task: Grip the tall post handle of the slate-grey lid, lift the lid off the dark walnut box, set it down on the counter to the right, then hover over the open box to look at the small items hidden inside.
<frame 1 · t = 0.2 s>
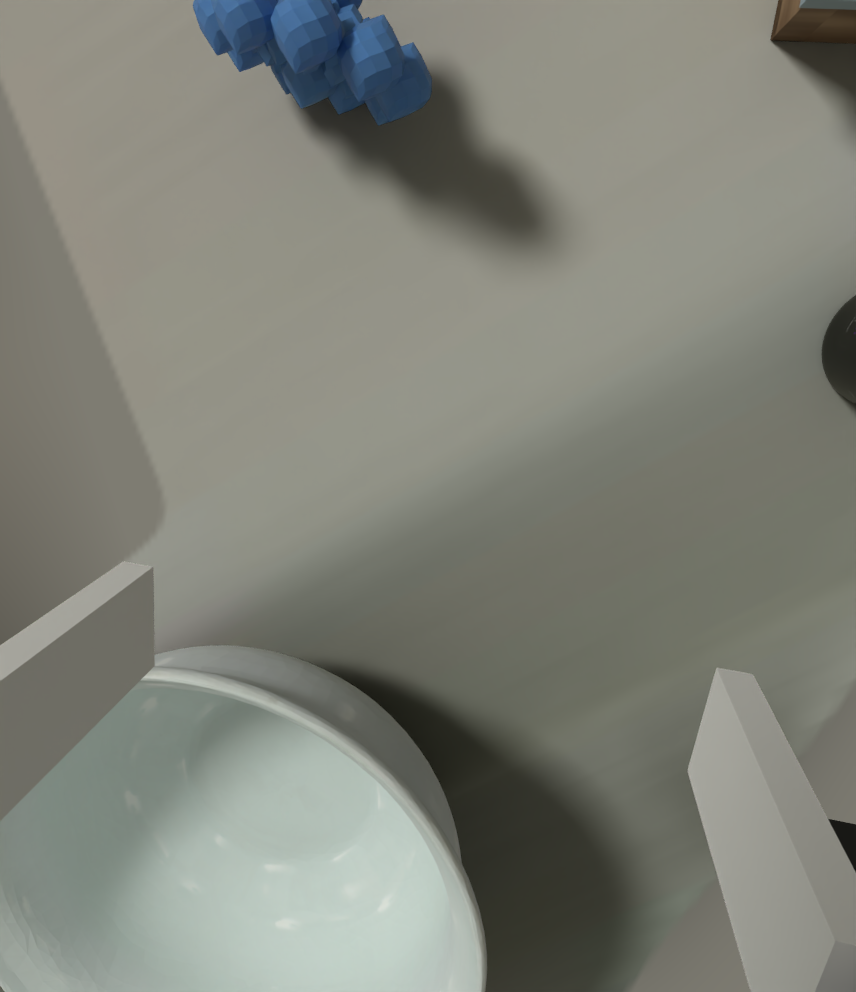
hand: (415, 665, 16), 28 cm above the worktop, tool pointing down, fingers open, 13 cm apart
bowl: (289, 760, 53), on the worktop
grapes: (356, 68, 38), on the worktop
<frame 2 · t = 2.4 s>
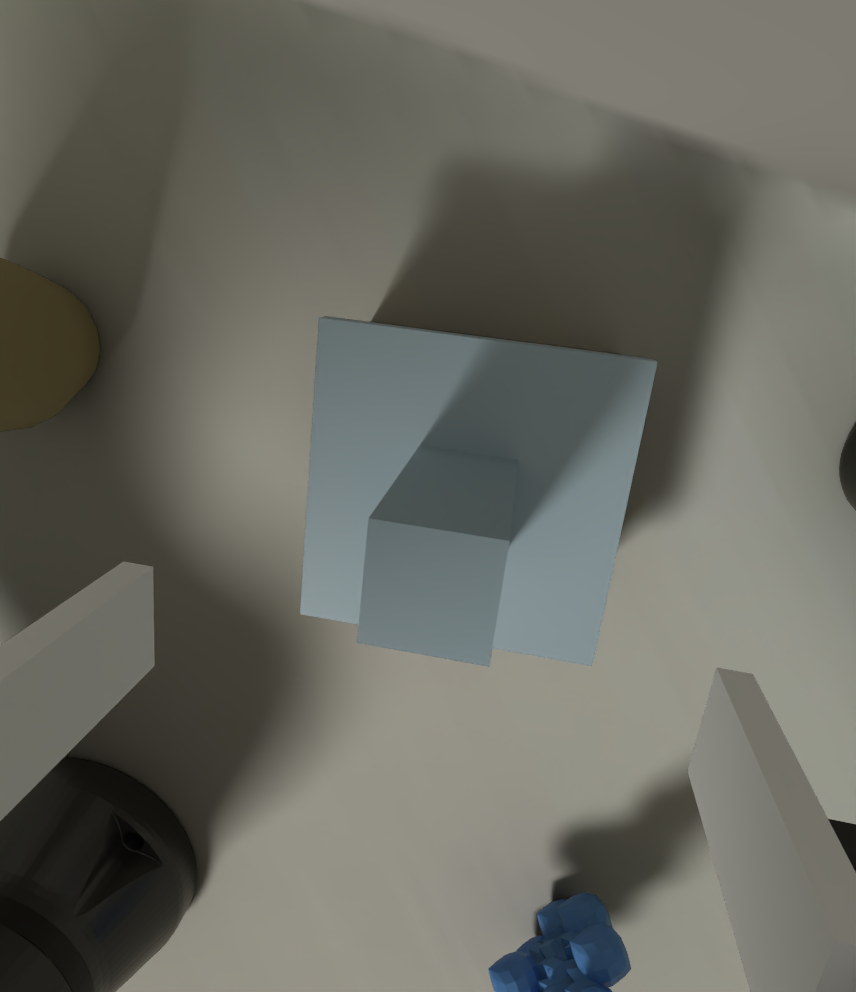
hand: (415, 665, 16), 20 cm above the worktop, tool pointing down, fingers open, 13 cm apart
squeeze bottle: (53, 338, 37), on the worktop
lid: (464, 492, 30), point 6 cm above the worktop, touching box
grapes: (545, 897, 43), on the worktop
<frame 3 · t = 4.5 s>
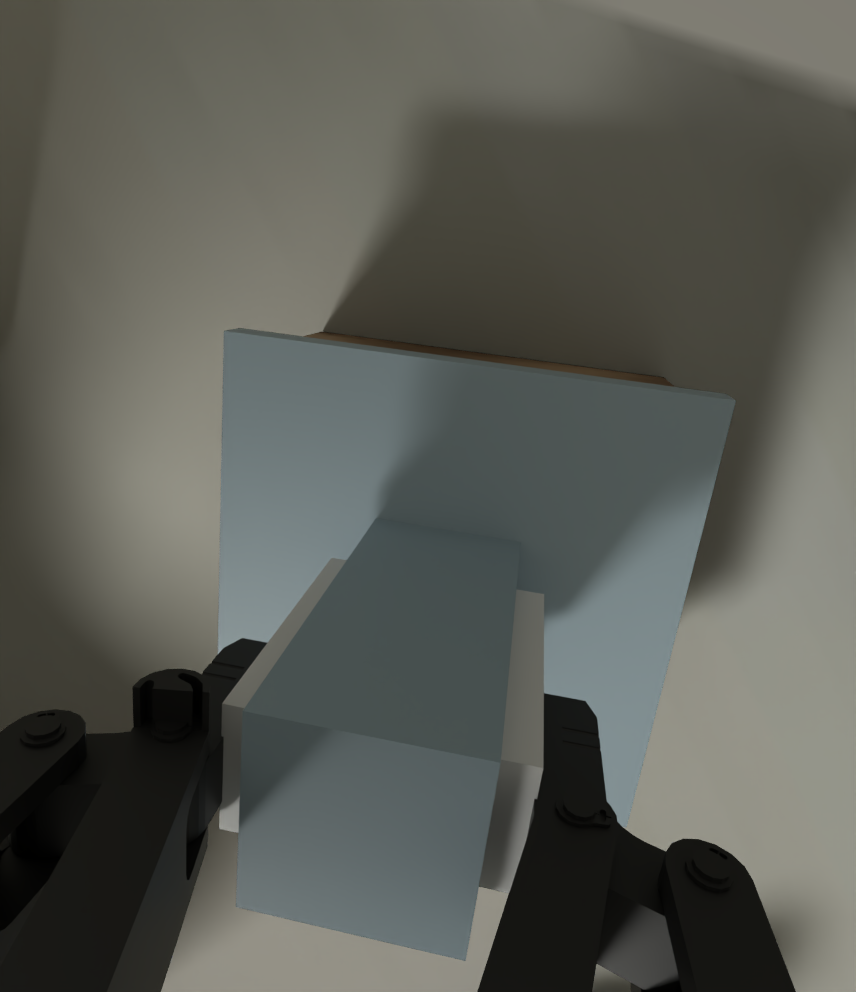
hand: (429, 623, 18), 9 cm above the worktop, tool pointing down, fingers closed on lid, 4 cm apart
lid: (443, 581, 21), point 6 cm above the worktop, touching box, gripper
box: (465, 514, 26), on the worktop
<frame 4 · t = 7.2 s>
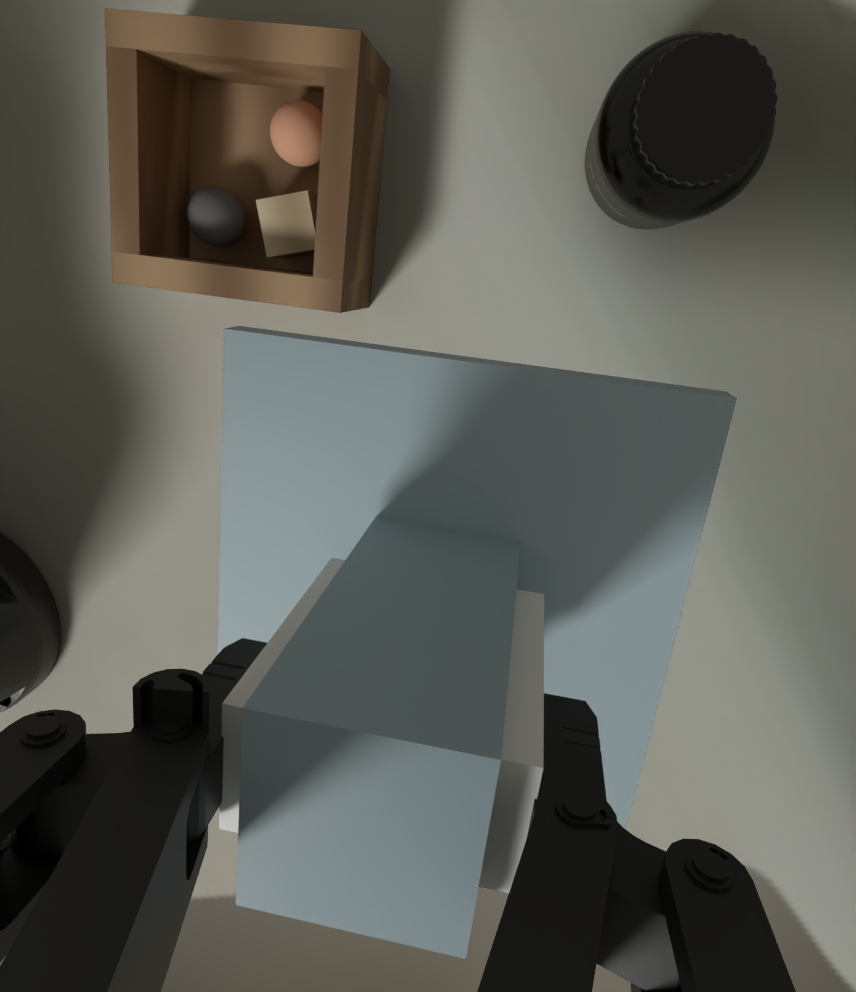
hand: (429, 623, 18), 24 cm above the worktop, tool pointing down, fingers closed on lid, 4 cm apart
ball a: (309, 139, 37), point 1 cm above the worktop, touching box
maple cube: (304, 227, 38), point 1 cm above the worktop, touching box
ball b: (228, 218, 39), point 1 cm above the worktop, touching box
lid: (443, 579, 21), point 22 cm above the worktop, touching gripper
box: (273, 181, 39), on the worktop
supplement bottle: (652, 160, 36), on the worktop
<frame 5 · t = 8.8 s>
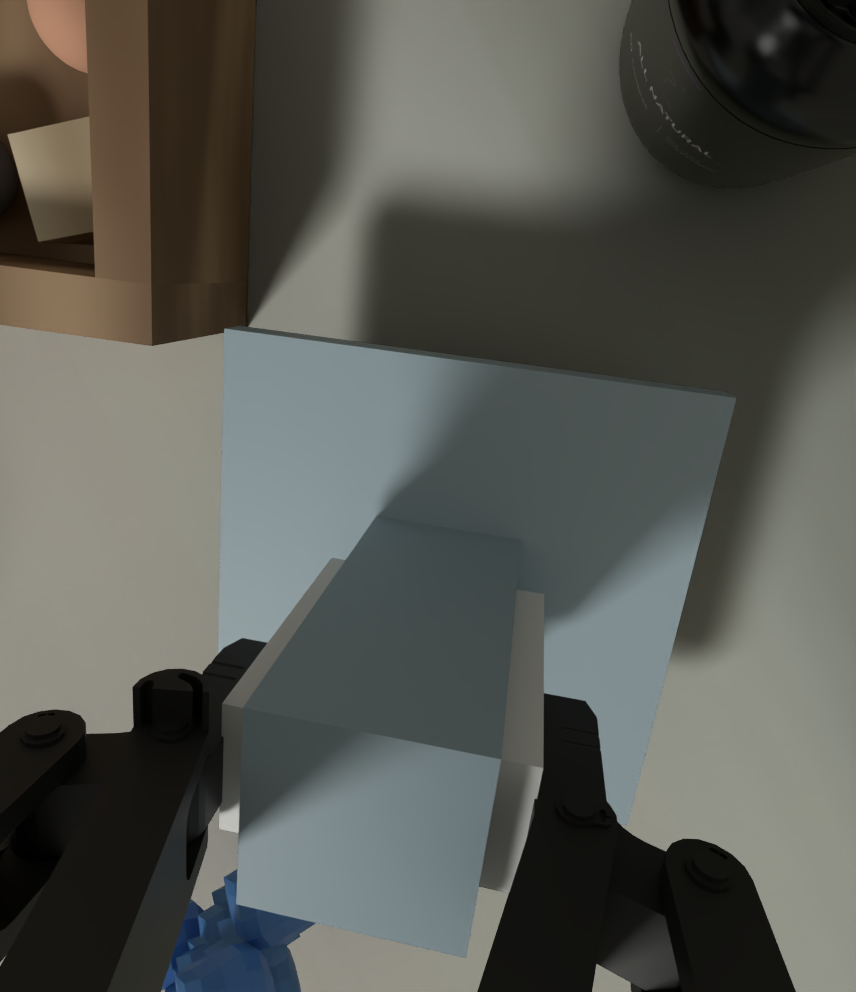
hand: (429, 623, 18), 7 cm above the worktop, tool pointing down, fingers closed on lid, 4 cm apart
ball a: (120, 29, 21), point 1 cm above the worktop, touching box
maple cube: (124, 191, 22), point 1 cm above the worktop, touching box
lid: (443, 579, 21), point 4 cm above the worktop, touching gripper
box: (72, 112, 22), on the worktop
supplement bottle: (743, 60, 19), on the worktop
grapes: (278, 829, 30), on the worktop
when the fingers open (4 cm above the worktop, at t = 10.1 s): lid drops 1 cm, on the worktop.
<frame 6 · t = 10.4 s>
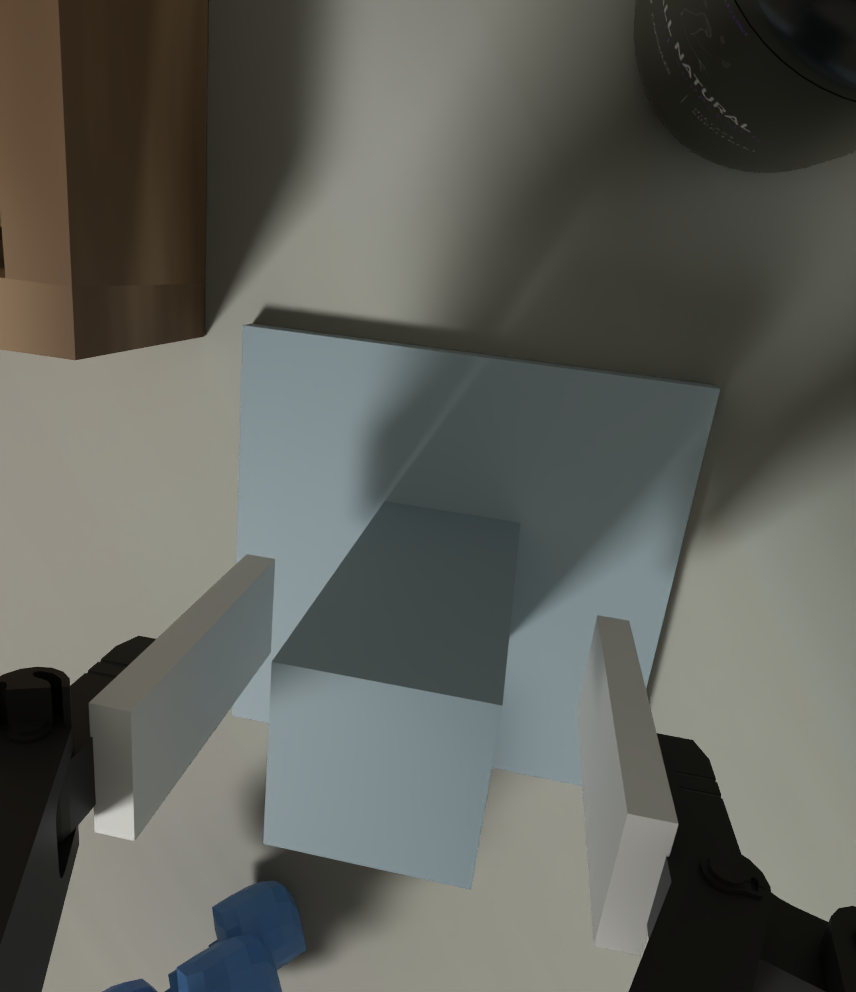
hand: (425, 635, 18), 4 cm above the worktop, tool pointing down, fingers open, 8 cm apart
lid: (447, 561, 22), on the worktop
box: (1, 87, 19), on the worktop
supplement bottle: (781, 21, 16), on the worktop
grapes: (249, 889, 27), on the worktop
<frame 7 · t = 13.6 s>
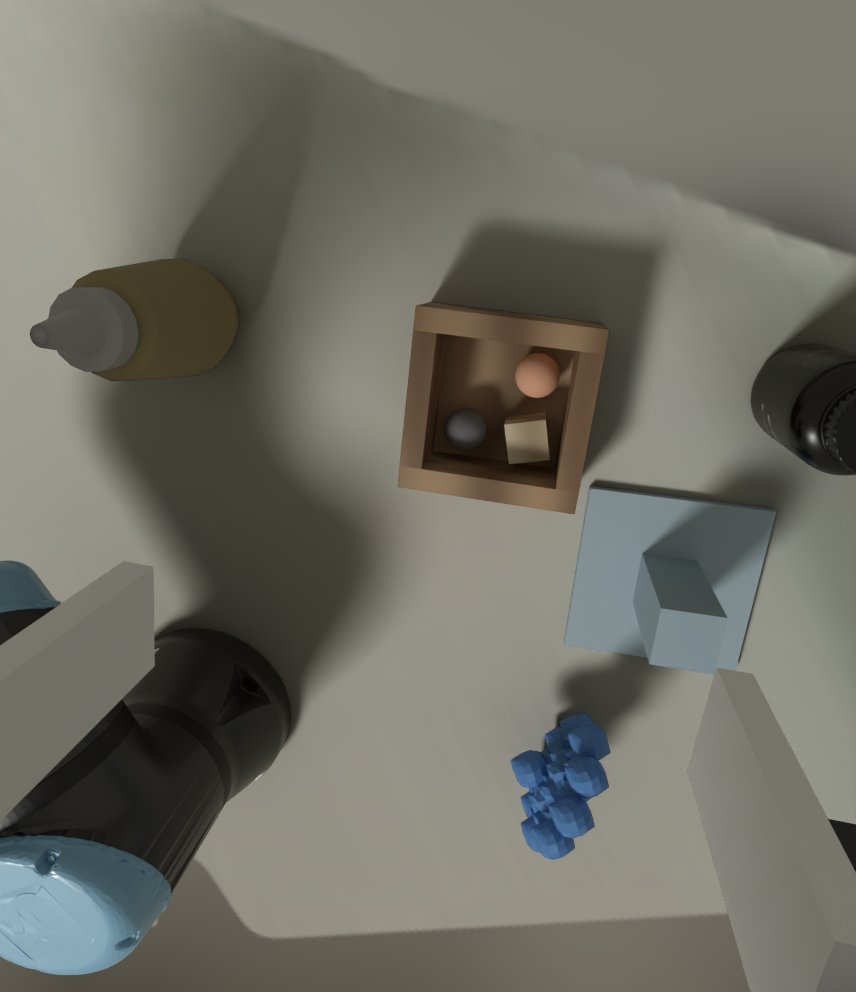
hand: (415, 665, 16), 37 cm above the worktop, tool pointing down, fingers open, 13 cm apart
ball a: (537, 372, 49), point 1 cm above the worktop, touching box
maple cube: (527, 433, 50), point 1 cm above the worktop, touching box
ball b: (467, 424, 51), point 1 cm above the worktop, touching box
squeeze bottle: (204, 315, 53), on the worktop
lid: (662, 576, 53), on the worktop
box: (502, 397, 51), on the worktop
supplement bottle: (800, 393, 48), on the worktop
grapes: (551, 728, 59), on the worktop
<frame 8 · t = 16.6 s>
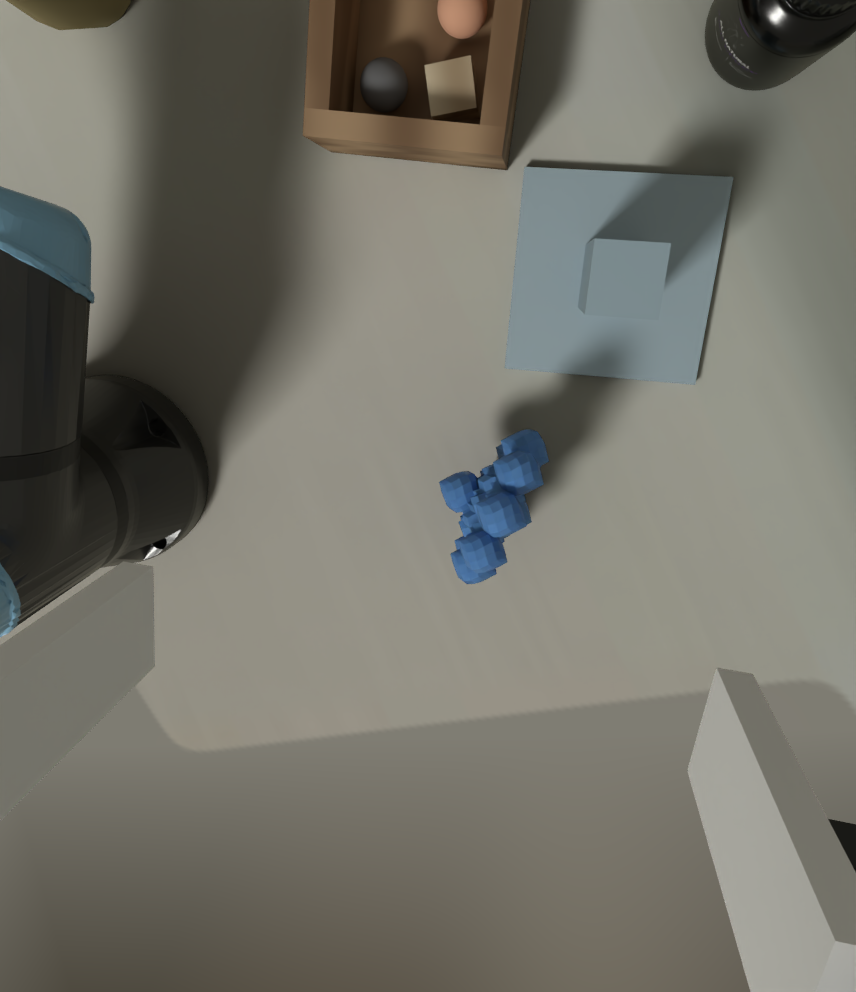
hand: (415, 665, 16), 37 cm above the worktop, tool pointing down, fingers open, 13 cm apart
ball a: (465, 17, 43), point 1 cm above the worktop, touching box
maple cube: (456, 97, 45), point 1 cm above the worktop, touching box
ball b: (388, 91, 45), point 1 cm above the worktop, touching box
lid: (610, 278, 47), on the worktop
box: (428, 58, 45), on the worktop
supplement bottle: (761, 31, 42), on the worktop
grapes: (492, 476, 53), on the worktop
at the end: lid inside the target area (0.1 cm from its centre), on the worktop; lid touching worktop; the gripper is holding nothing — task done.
